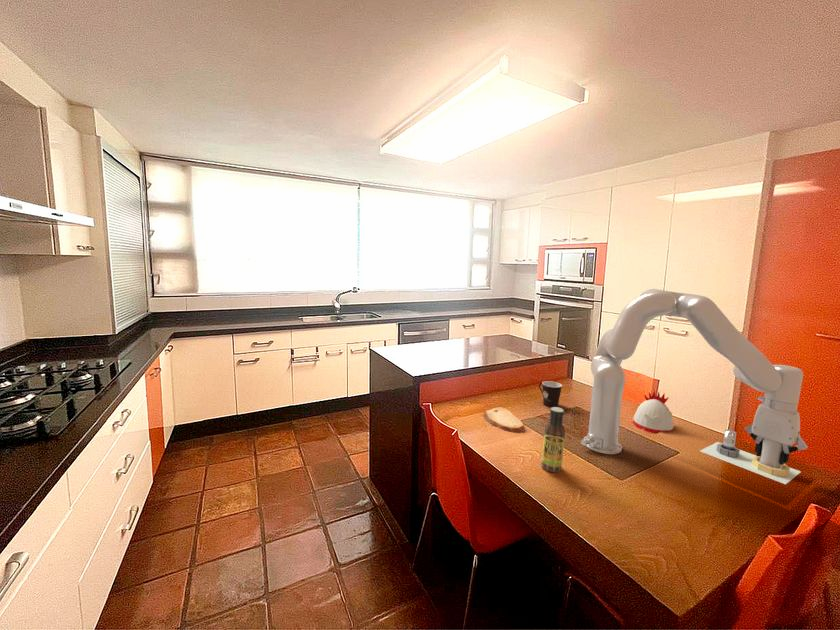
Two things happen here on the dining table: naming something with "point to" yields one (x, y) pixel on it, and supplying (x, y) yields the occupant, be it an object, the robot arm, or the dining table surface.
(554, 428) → the sauce bottle
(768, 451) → the beverage can
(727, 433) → the grey peg
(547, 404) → the coffee mug
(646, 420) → the white and red dome
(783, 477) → the socket board
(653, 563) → the dining table surface
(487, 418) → the bread slice
